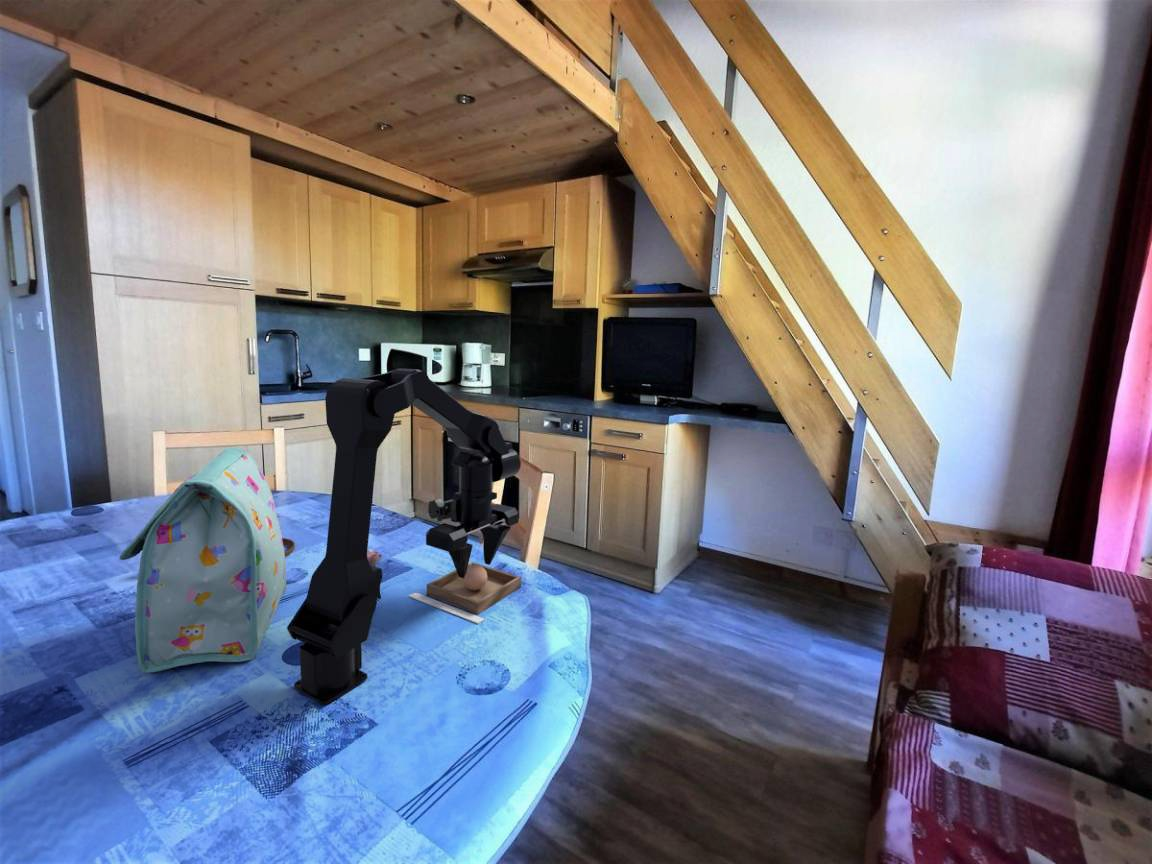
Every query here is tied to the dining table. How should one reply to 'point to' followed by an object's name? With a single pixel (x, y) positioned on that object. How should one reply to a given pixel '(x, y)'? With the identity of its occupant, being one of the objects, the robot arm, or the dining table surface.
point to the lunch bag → (209, 568)
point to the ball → (475, 577)
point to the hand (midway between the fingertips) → (474, 570)
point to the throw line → (447, 608)
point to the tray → (474, 600)
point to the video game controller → (373, 557)
